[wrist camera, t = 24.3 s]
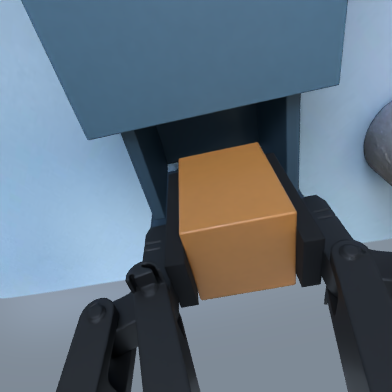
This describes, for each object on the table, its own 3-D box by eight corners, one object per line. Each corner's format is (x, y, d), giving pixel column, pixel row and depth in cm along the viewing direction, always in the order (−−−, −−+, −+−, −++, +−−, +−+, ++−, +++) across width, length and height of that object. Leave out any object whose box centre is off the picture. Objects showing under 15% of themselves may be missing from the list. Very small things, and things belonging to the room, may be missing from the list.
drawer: (276, 201, 30) (307, 266, 23) (172, 221, 31) (171, 290, 24) (268, -10, 19) (324, -13, 12) (106, 30, 20) (67, 50, 13)
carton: (194, 217, 18) (200, 301, 13) (178, 157, 15) (178, 234, 10) (262, 204, 17) (296, 285, 12) (258, 141, 15) (297, 211, 10)
